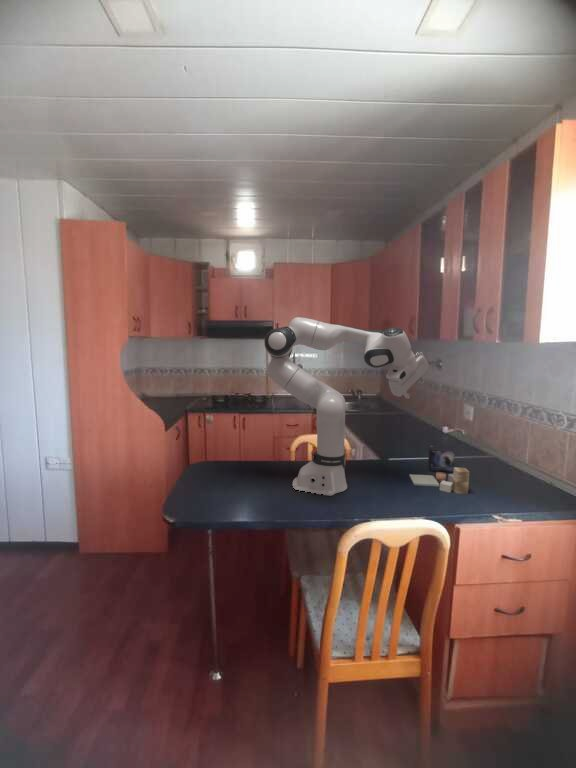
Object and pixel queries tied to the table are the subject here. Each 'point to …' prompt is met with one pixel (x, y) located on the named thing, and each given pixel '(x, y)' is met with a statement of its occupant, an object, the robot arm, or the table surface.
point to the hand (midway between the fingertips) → (415, 390)
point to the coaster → (424, 480)
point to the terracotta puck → (440, 476)
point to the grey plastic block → (450, 478)
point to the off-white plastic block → (446, 486)
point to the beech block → (460, 480)
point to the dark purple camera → (441, 459)
